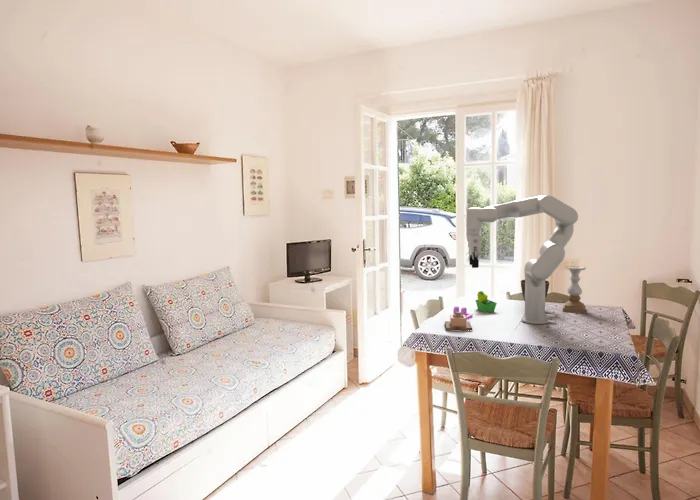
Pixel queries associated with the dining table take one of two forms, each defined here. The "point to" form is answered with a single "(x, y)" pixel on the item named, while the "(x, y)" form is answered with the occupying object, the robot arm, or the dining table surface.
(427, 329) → the dining table surface
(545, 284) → the plant pot
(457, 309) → the bracket
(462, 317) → the collar
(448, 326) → the post stand
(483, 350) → the dining table surface
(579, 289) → the candle holder
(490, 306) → the fruit basket
